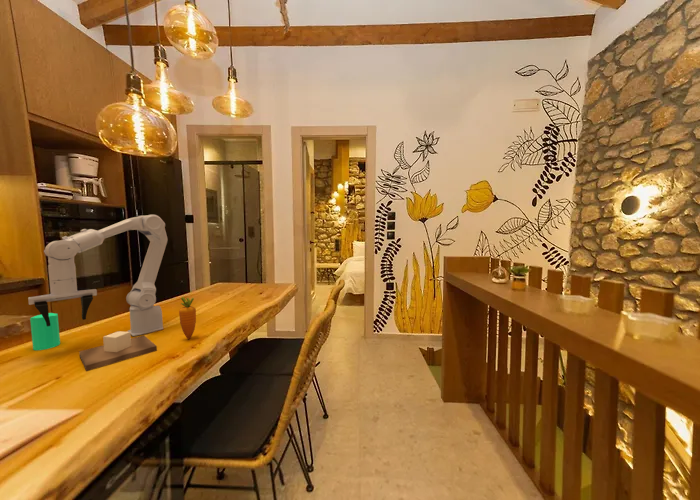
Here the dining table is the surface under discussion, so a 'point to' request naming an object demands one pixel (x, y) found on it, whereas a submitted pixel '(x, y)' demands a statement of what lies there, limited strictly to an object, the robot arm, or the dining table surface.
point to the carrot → (187, 317)
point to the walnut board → (116, 353)
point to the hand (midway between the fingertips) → (66, 322)
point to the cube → (117, 341)
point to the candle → (45, 332)
